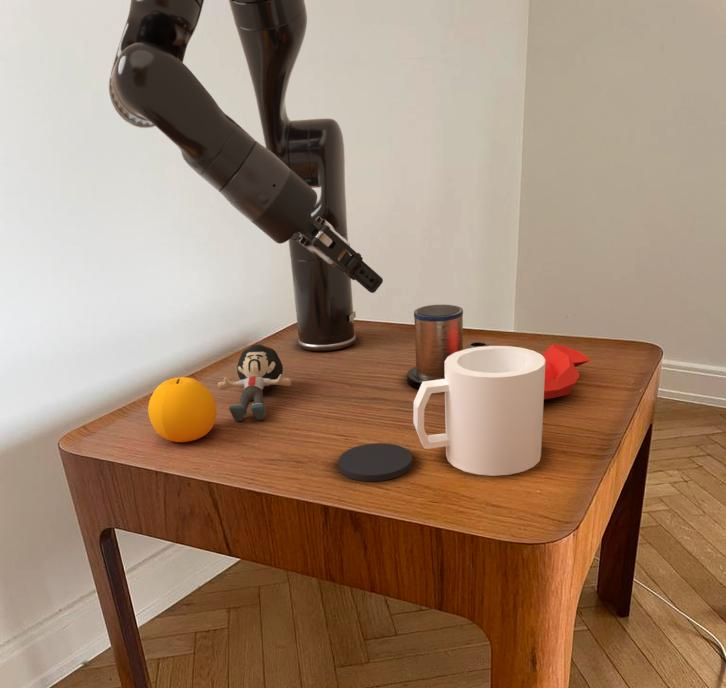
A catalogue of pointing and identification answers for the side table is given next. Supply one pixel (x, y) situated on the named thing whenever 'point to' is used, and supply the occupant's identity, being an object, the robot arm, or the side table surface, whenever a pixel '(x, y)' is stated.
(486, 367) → the mug
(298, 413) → the side table surface
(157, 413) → the orange
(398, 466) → the trivet
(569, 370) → the animal figurine
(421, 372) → the pot
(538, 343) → the side table surface
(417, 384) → the disc
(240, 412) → the figurine
